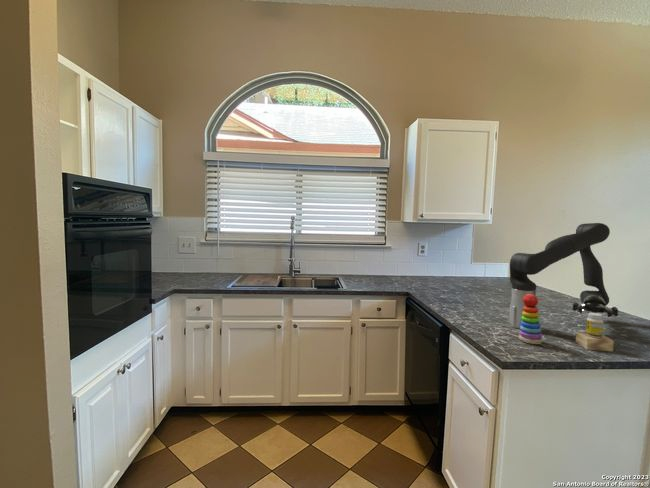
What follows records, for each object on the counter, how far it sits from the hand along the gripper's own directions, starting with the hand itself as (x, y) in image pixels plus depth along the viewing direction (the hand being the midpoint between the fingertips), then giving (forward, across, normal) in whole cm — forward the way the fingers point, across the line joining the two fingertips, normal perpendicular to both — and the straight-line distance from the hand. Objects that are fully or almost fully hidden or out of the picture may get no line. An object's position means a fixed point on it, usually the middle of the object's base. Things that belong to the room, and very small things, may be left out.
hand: (594, 312), depth 125 cm
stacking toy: (+20, -19, +11) cm, 29 cm away
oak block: (+11, 0, +11) cm, 15 cm away
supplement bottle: (+10, 0, +7) cm, 13 cm away
